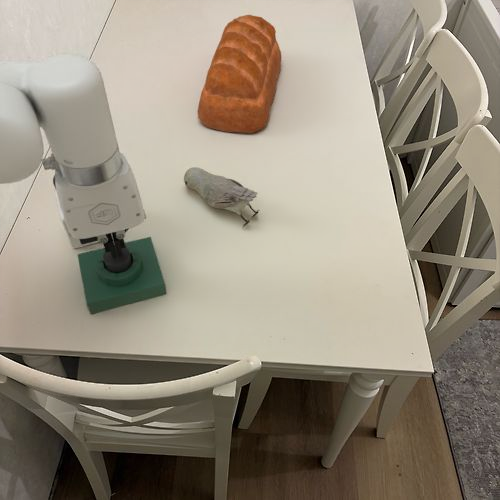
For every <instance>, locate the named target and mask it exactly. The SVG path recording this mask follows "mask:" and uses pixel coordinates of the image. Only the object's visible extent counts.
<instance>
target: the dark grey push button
mask: <svg viewBox="0 0 500 500" xmlns="http://www.w3.org/2000/svg"><path fill="white" fill-rule="evenodd" d="M114 246H115V244H114ZM115 250H116V247H115ZM122 253H123V257H118V254H117V251H116V254H117V257H116V259H113V258H112V255H111V252H106V251H105V252H104V254H103V259H104V262H105V265H106V268H107V269H108V270H109V271H110V272H113V273H121V272H124V271H126V270H127V269H128V268H129V267H130V266H131V263H132V260H131V256H130V252H129V250H128V248H127V247H126V248H123V249H122Z"/></svg>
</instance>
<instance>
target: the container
mask: <svg viewBox="0 0 500 500" xmlns="http://www.w3.org/2000/svg"><path fill="white" fill-rule="evenodd" d="M52 183H53V186H54V195H55V200H56V203H57V204H56V205H57V208H58V213H59V214H58V215H59V218H60V222H61V225H62V227H63V230H64V231H65V234H66V237H67V239H68V241H69V244H70V247H71V248H72V249H78V248H82V247H85V246H90V245H93V244H98V243H100V241H99V240H98V239H96V238H92V237H91V238H85V239H76V238H73V237H72V236H70V234H69V230H68V228H67V225H66V222H65V219H64V216H63V213H62V210H61V207H60V203H59V200H58V196H57V191H56V185H55V174H54V175H53V178H52ZM111 235H112V233H111ZM112 238H113V236H112Z"/></svg>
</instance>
